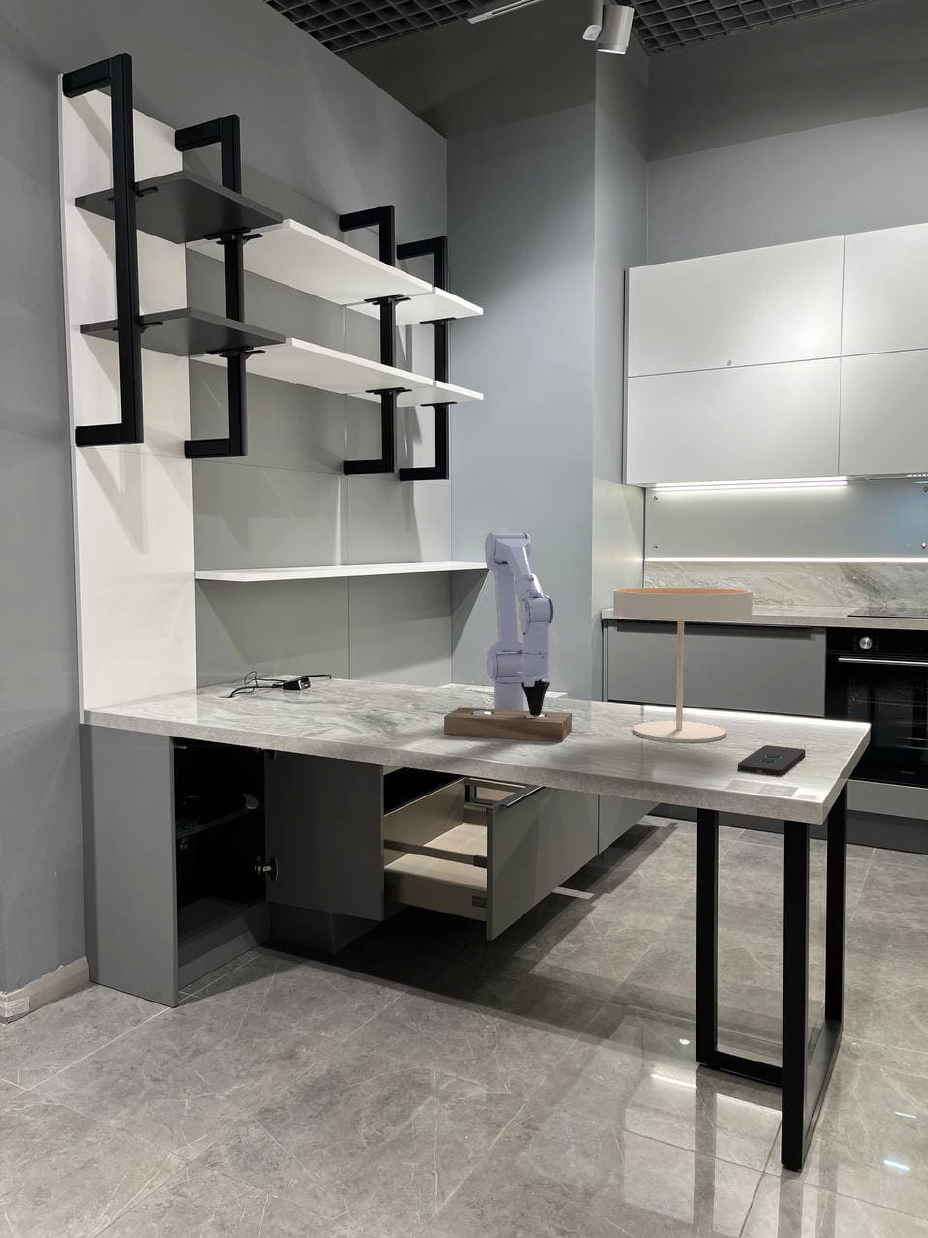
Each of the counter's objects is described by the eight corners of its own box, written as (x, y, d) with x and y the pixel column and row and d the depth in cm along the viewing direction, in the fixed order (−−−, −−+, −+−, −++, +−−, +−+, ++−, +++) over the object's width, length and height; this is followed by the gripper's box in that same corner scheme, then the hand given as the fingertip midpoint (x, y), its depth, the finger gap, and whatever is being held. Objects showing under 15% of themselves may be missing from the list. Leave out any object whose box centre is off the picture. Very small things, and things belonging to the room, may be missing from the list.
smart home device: (735, 763, 172) (764, 744, 189) (735, 773, 172) (764, 752, 189) (782, 769, 168) (807, 748, 184) (781, 779, 168) (807, 757, 184)
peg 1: (476, 727, 211) (476, 710, 211) (493, 728, 210) (493, 711, 209) (471, 731, 207) (471, 713, 207) (488, 732, 206) (488, 714, 206)
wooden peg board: (459, 724, 216) (459, 707, 216) (571, 730, 209) (572, 712, 209) (444, 734, 205) (444, 716, 204) (562, 741, 197) (562, 722, 197)
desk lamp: (753, 725, 215) (756, 588, 213) (745, 751, 187) (748, 595, 185) (623, 717, 225) (625, 586, 223) (598, 741, 197) (599, 592, 195)
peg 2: (528, 730, 208) (528, 712, 207) (546, 731, 206) (546, 713, 206) (524, 734, 204) (524, 716, 203) (542, 735, 203) (542, 716, 202)
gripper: (524, 648, 212) (524, 708, 213) (510, 656, 198) (510, 720, 199) (555, 649, 210) (555, 710, 211) (543, 657, 196) (542, 721, 197)
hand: (535, 715), depth 205 cm, fingers closed, pressing on peg 2
